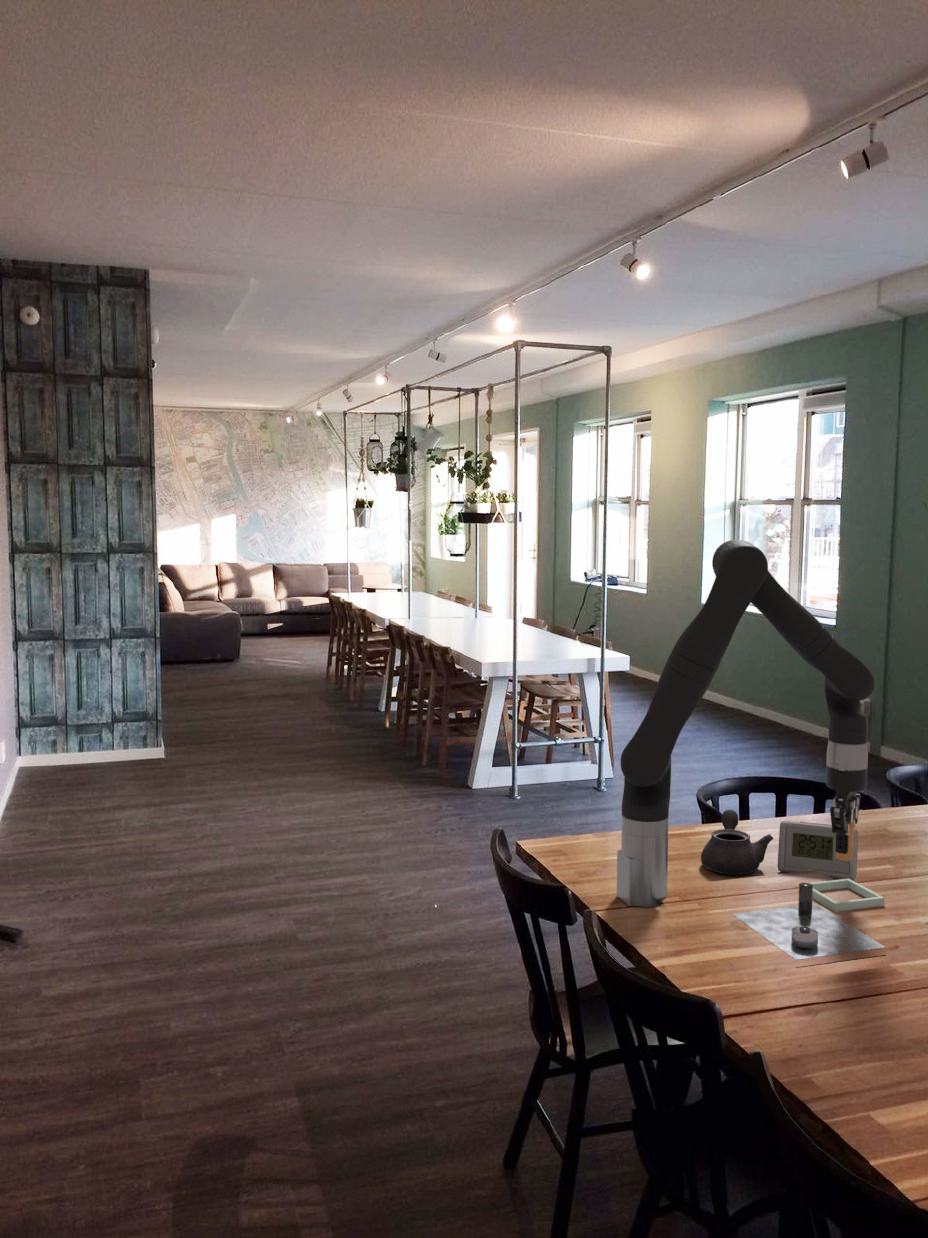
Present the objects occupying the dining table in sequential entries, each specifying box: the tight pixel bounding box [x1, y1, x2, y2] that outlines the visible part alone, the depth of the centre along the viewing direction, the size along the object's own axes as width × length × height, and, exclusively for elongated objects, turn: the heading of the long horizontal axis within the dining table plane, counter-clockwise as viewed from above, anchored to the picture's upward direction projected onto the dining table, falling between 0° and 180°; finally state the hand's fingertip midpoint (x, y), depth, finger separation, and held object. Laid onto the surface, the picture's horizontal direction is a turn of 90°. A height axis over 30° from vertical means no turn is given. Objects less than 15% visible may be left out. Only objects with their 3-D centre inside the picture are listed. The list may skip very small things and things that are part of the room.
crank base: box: [731, 903, 887, 969], centre depth 188 cm, size 18×21×2 cm
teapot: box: [700, 809, 774, 876], centre depth 228 cm, size 19×15×10 cm
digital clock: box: [777, 820, 859, 881], centre depth 221 cm, size 16×9×11 cm, turn 57°
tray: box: [809, 879, 886, 913], centre depth 204 cm, size 11×11×3 cm
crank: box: [791, 882, 818, 948], centre depth 187 cm, size 16×4×7 cm, turn 162°
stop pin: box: [836, 820, 854, 861], centre depth 202 cm, size 3×3×8 cm
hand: (844, 849), depth 202 cm, fingers closed on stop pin, 3 cm apart
